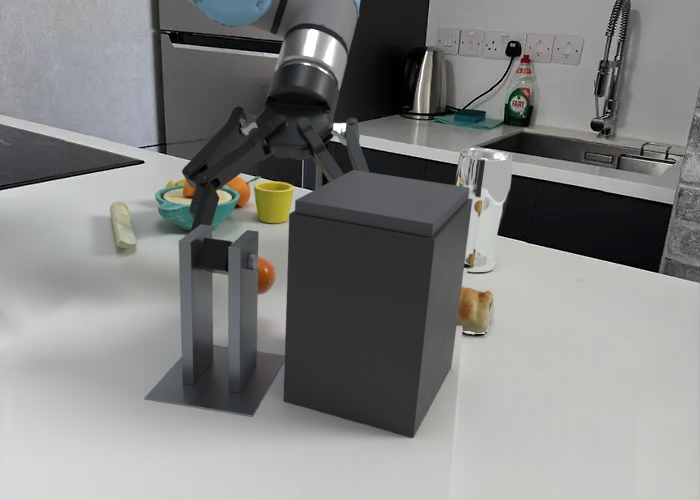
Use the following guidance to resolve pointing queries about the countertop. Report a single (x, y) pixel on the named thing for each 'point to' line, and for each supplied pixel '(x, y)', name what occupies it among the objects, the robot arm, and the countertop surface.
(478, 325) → the pastry
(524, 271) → the countertop surface
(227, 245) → the lever
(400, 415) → the lidded storage box
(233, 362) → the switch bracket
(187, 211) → the toy juicer set
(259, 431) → the countertop surface
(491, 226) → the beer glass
